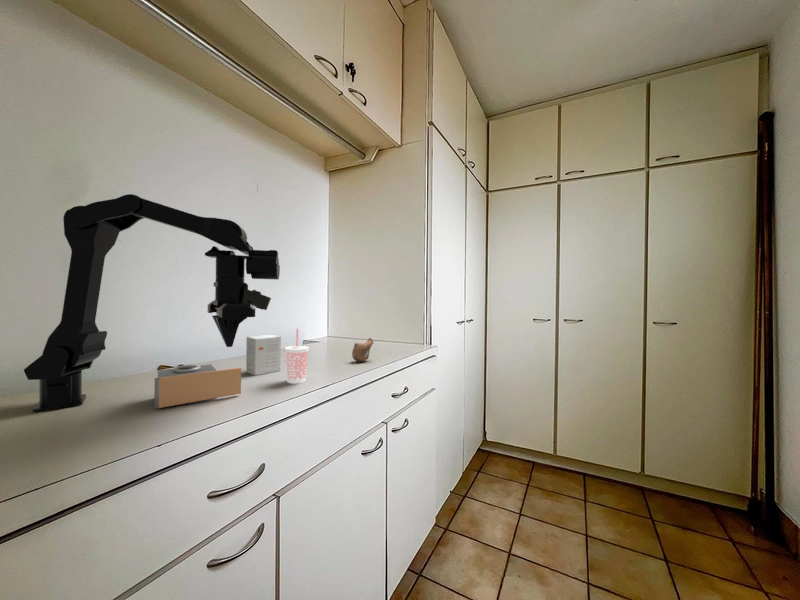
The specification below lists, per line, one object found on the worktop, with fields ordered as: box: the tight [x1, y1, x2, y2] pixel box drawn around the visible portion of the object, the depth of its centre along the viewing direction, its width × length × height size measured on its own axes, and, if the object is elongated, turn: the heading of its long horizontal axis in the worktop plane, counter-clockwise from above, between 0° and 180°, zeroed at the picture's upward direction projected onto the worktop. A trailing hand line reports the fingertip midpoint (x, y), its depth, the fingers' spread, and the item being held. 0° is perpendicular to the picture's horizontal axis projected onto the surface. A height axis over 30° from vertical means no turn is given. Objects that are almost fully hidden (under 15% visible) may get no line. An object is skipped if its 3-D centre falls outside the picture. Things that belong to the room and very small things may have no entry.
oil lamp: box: [351, 337, 374, 363], centre depth 107 cm, size 9×4×8 cm, turn 135°
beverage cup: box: [284, 328, 310, 385], centre depth 81 cm, size 6×6×14 cm
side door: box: [153, 367, 242, 409], centre depth 64 cm, size 1×15×6 cm, turn 130°
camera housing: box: [157, 364, 217, 409], centre depth 67 cm, size 8×10×7 cm
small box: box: [245, 334, 282, 376], centre depth 90 cm, size 8×6×10 cm
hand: (229, 346), depth 69 cm, fingers closed
